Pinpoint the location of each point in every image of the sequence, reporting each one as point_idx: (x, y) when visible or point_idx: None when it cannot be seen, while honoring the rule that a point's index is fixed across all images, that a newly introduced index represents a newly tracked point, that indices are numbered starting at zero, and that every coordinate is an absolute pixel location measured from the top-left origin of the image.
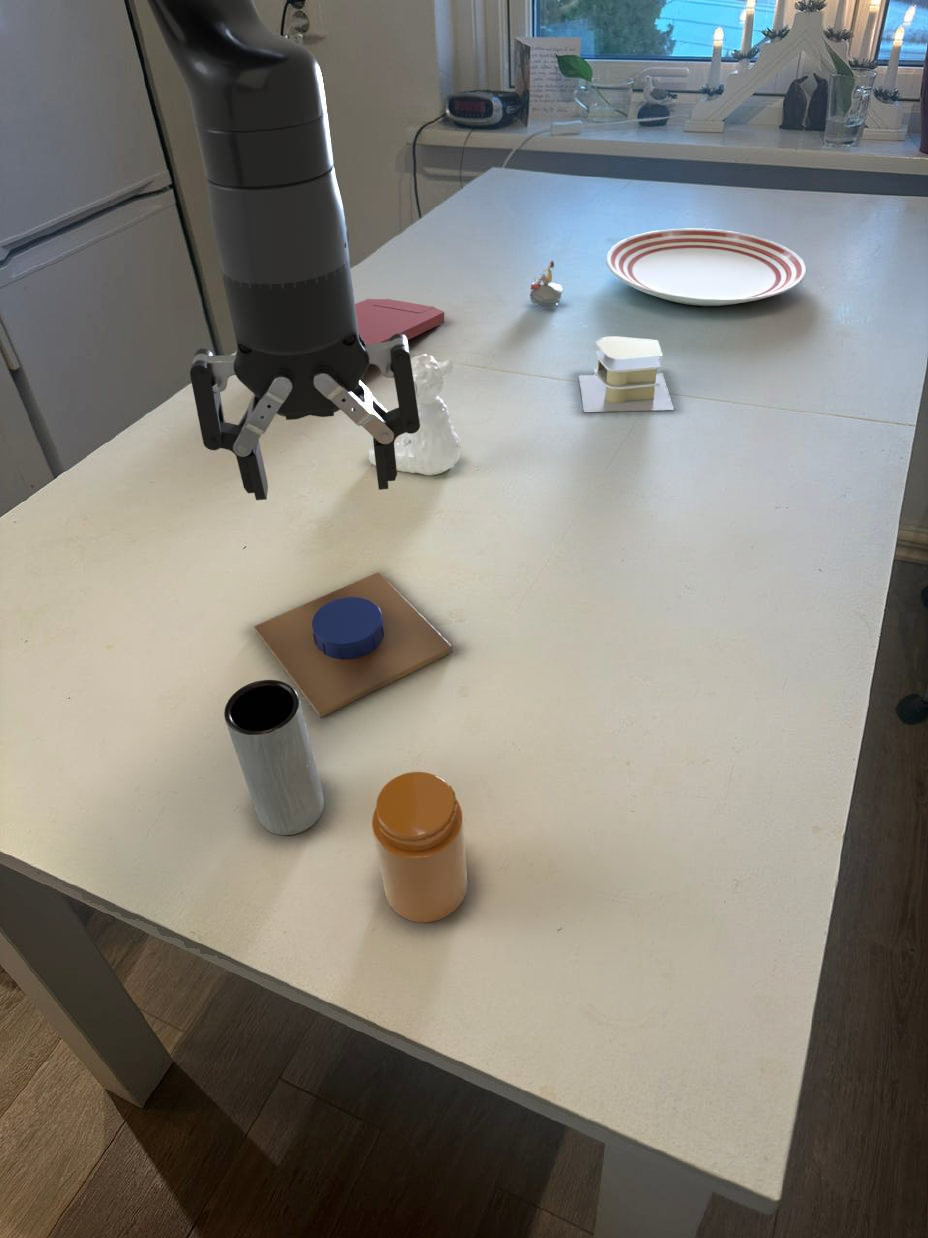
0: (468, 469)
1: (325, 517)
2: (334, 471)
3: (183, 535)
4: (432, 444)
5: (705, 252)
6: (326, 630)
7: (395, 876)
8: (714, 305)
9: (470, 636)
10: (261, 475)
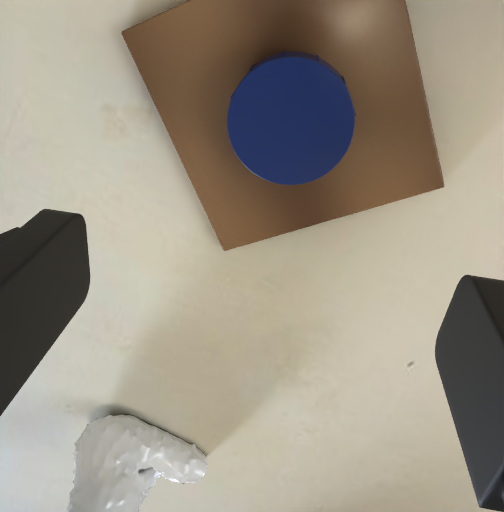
0: (81, 410)
1: (284, 385)
2: (258, 459)
3: None
4: (106, 455)
5: None
6: (331, 106)
7: None
8: None
9: (94, 64)
10: (488, 344)
